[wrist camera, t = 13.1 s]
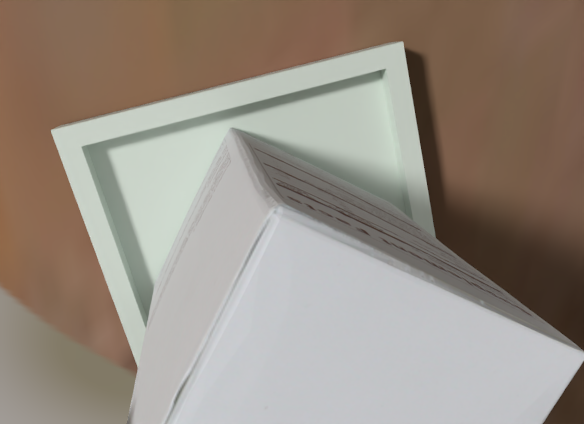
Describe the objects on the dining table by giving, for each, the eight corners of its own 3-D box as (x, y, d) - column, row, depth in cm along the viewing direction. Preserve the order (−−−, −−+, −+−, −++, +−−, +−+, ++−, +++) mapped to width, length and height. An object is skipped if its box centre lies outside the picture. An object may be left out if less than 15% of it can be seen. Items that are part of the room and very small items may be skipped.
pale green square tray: (60, 125, 21) (50, 130, 19) (390, 42, 22) (403, 41, 20) (164, 411, 25) (161, 432, 23) (440, 329, 26) (453, 344, 24)
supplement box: (309, 348, 24) (415, 638, 12) (149, 283, 22) (86, 550, 10) (393, 199, 23) (604, 358, 11) (231, 117, 21) (268, 198, 9)
